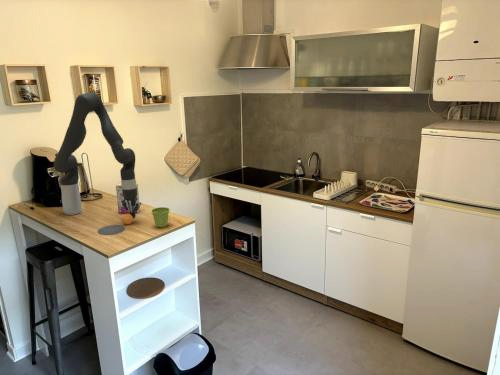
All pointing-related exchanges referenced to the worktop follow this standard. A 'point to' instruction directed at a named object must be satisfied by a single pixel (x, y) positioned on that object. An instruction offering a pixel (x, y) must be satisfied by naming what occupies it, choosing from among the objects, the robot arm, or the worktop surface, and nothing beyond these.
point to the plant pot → (160, 216)
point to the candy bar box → (120, 197)
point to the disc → (111, 230)
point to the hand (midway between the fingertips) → (132, 218)
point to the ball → (127, 218)
